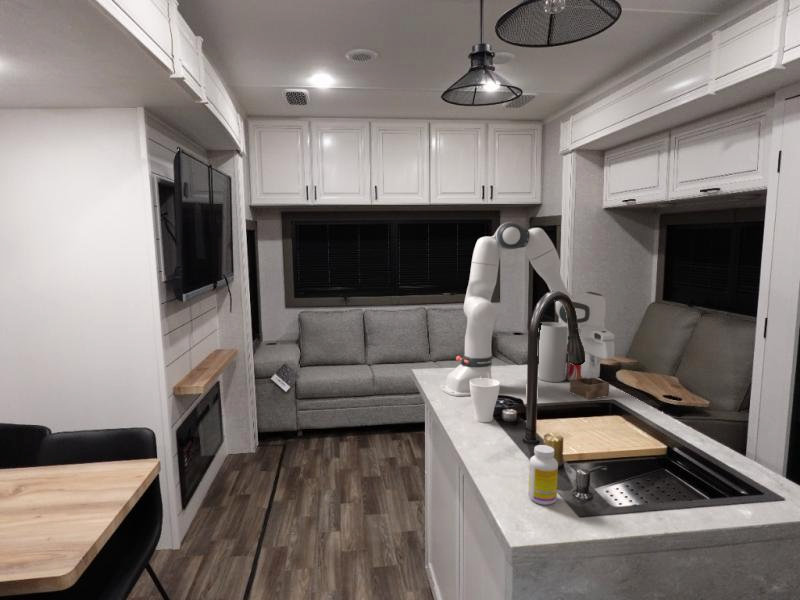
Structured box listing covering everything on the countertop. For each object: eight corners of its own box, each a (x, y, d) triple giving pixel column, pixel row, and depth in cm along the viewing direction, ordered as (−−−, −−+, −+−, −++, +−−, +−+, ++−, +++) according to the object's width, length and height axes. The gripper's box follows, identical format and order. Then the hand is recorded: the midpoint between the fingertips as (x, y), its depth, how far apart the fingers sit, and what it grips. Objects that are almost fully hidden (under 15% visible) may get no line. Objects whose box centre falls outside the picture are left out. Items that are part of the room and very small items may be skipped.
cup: (473, 412, 183) (474, 376, 181) (502, 417, 178) (503, 380, 176) (464, 421, 173) (465, 384, 172) (494, 427, 169) (495, 388, 167)
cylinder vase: (550, 373, 236) (552, 321, 232) (571, 380, 225) (574, 325, 222) (530, 377, 229) (532, 323, 226) (551, 384, 219) (554, 327, 215)
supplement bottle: (562, 503, 120) (564, 452, 119) (537, 507, 119) (540, 456, 117) (546, 490, 127) (548, 441, 125) (523, 493, 125) (525, 444, 123)
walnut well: (588, 399, 198) (588, 386, 198) (569, 392, 207) (570, 379, 207) (608, 396, 203) (609, 382, 202) (589, 389, 212) (590, 376, 211)
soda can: (580, 378, 228) (581, 350, 227) (584, 382, 221) (585, 354, 219) (564, 377, 229) (565, 349, 227) (567, 382, 222) (569, 353, 220)
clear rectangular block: (588, 378, 201) (589, 354, 200) (580, 376, 205) (582, 352, 203) (599, 376, 204) (600, 352, 202) (591, 374, 207) (593, 350, 206)
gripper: (567, 328, 210) (566, 360, 212) (606, 337, 191) (604, 372, 193) (579, 327, 212) (577, 359, 214) (618, 335, 194) (616, 370, 196)
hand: (590, 365), depth 203 cm, fingers closed on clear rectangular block, 4 cm apart
